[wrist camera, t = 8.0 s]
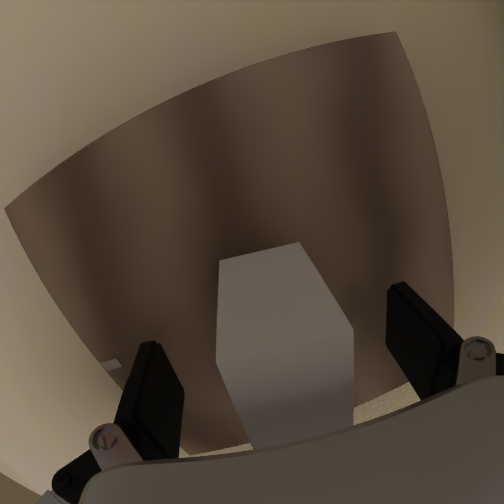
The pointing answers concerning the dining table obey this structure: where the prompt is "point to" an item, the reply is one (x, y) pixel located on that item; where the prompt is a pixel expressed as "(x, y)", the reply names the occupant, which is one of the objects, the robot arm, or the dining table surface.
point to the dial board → (247, 215)
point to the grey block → (283, 347)
